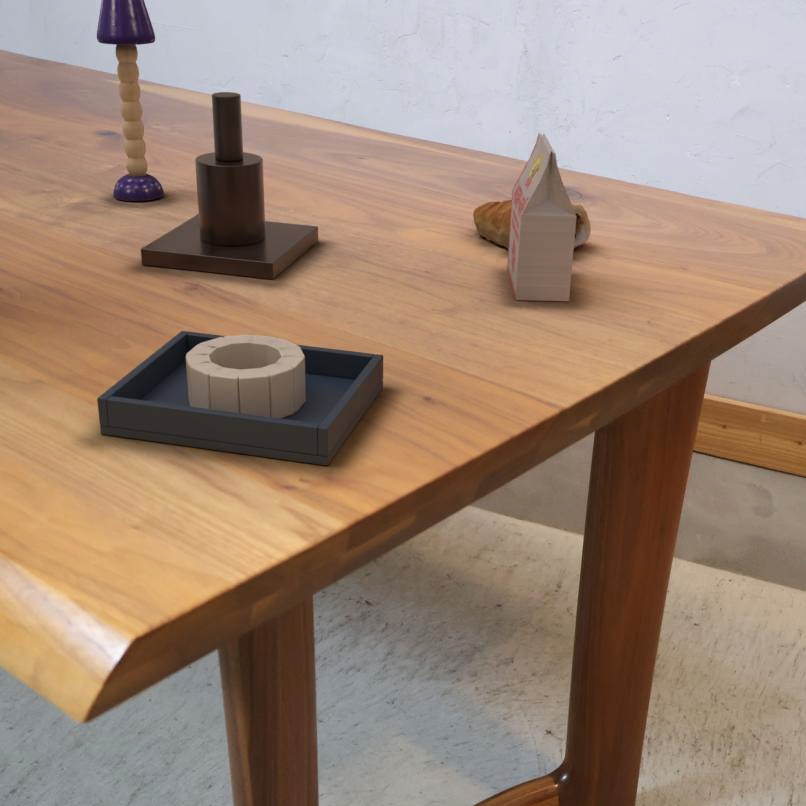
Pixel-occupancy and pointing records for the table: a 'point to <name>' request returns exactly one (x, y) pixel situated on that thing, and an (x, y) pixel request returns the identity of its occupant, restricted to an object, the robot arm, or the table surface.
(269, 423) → the tray
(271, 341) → the ring
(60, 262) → the table surface
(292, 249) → the stand
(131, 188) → the toy lamp
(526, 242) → the milk carton
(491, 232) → the pastry
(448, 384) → the table surface
